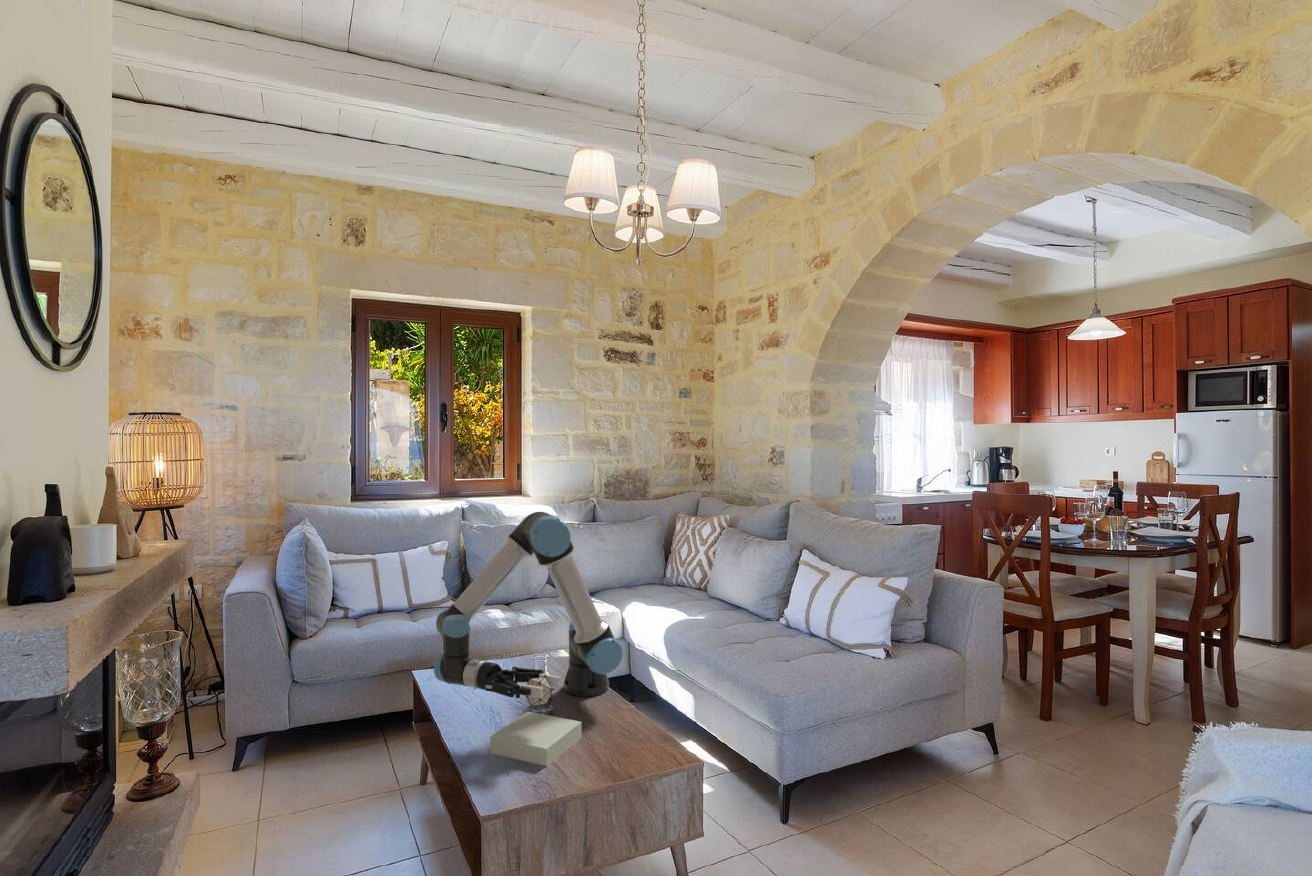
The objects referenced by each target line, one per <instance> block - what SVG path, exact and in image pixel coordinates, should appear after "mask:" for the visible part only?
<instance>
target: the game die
mask: <svg viewBox="0 0 1312 876" xmlns="http://www.w3.org/2000/svg"><path fill="white" fill-rule="evenodd" d="M546 675H547V674H546ZM546 675H545V676H544V677H541V678H533V679H530V678H529V677H528V676H527V677H528V679H529V681H528V682H526V683H527V684H526V685H531V686H536V687H542V688H543V698H542V699H540V698H535V697H530V696H525V698H526V700H527V701H528V703H529V706H528V707H529V708H528V709H529V710H530V709H532V707H533V706H540V705H541V706H542V705H545V706H547V707H549V703H548V701H549V699H550V696H551V693H552V691H555V687H554V688H552V686H550V685H549V683H548V681H547V680H546V678H545V677H546Z"/></svg>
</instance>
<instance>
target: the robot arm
mask: <svg viewBox="0 0 1312 876" xmlns="http://www.w3.org/2000/svg"><path fill="white" fill-rule="evenodd" d="M571 539H572V537H571V530H570V529H569V526H568V525H567V524H566V522H565V521H564V520H562V519H561V518H559V517H558V516H556V515H552V514H550V513H548V512H544V511H535V512H532V513H530V514H528V515H527V516H526V517H525V518H524V519H522V521H520V523H519V524H518V525H517V526H515V528H514V529H513V531H512V532H511V533H510V534H509V535H508V536H507V542H506V544H504V546H503V547H502V548H501V549H500V550H499V551H498V553H497V554H496V555H495V556H494V557H493V558H492V559H491V561H489V562H488V564H486V566H485V567H484V568H483V569H482V571H481V572H479V574H478V575H477V576H476V577H475V578H474V579H473V581H471V582H470V583H469V585H468V586H467V587H466V588H465V590H463V592H462V593H461V594H460V595H459V596H458V597H457V599H456V600H454V602H453V603H452V604H451V605H450V606H449V607H448V608H447V609H444V610H442V611H441V612H440V613H439V614H438V615H437V616H436V620H435V624H436V625H435V626H436V629H437V632H438V634H439V635H440V637H441V640H442V655H441V656H439V657H437V660H436V661H435V666H434V668H433V673H434V676H435V678H436V680H437V681H440V682H443V683H447V684H448V685H450V684H451V685H459V686H464V687H470V688H473V690H476V689H480V690H483V691H486V692H492V693H496V694H498V695H502V696H505V697H508V698H514V697H515V698H516V699H520V697H521V696H525V697H526V696H530V697H535V698H540V699H542V698H543V688H542V687H536V686H531V685H527V684H526V683H528V681H529V679H528V677H529V678H530V679H533V678H541V677H544V676H545V675H546V677H545V678H546V680H547V681H548V683H549V685H550V687H554V688H560V687H561V676H557V675H551V674H545V673H544V670H542V669H535V668H534V669H533V668H525V667H524V668H523V667H517V666H512V668H511V670H509V669H502V667H501V665H500V664H499V663H497V662H490V661H485V660H480V659H479V660H478V659H472V658H470V638H471V637H470V634H471V633H470V631H471V626H470V621H471V620H472V619H473V618H474V617H475V615H476V614H477V613H478V612H479V611H480V610H481V609H482V607H483V606H484V605H485V604H486V603H487V602H488V601H489V599H490V598H491V597H492V596H493V595H495V593H496V592H497V590H499V588H501V586H502V585H503V584H504V582H505V581H506V580H507V579H508V578H510V577H509V576H511V575H512V574H513V572H514V571H515V570H516V569H517V568H518V567H519V565H520V564H521V563H522V562H523V561H524V560H525V559H527V558H530V557H532V555H533V554H534V555H535V557H536V560H537V562H538V564H539V565H540V566H542V567H545V568H546V570H547V572H548V574H549V576H550V578H551V579H550V580H552V583H553V585H554V588H555V590H556V592H557V593H558V595H559V598H560V600H561V602H562V604H563V607H564V609H565V611H566V613H567V615H568V618H569V619H570V623H569V624H568V631H567V632H568V668H567V670H566V674H565V677H564V681H563V690H564V692H565V693H566V694H568V695H571V696H576V697H595V696H597V695H601V694H604V693H605V692H606V693H607V691H608V690H609V688H610V681H609V677H608V674H610V673H613V671H615V670H617V668H618V667H619V666H620V665H621V662H622V660H623V657H624V651H623V650H624V649H623V647H622V644H621V643H620V642H619V640H617V639H615V636H614V634H613V632H612V630H611V628H610V626H609V623H608V622H607V621H605V620H603V619H601V617H600V615H599V613H598V611H597V608H596V605H594V601H593V599H592V598H591V595H590V592H589V590H588V588H587V585H586V584H585V582H584V579H583V577H582V575H581V572H580V570H579V568H578V566H577V564H576V561H575V559H574V557H573V553H574V551H575V548H574V545H573V543H572V541H571ZM527 676H528V677H527ZM518 683H521V685H520V684H518ZM524 683H525V684H524ZM607 687H609V688H607Z"/></svg>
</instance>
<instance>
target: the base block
mask: <svg viewBox="0 0 1312 876" xmlns="http://www.w3.org/2000/svg"><path fill="white" fill-rule="evenodd" d="M582 725H583V724H582V721H580V720H579V721H578V720H575V719H570V718H569V719H568V718H565V717H564V718H563V717H558V716H555V715H554V716H553V715H547V714H544V713H537V712H532V711H527V712H525V713H524V714H522V715H521V716H519V717H518V718H515V719H514V720H513V721H512V722H510V723H509V724H507V725H506V726H504V727H503V728H501V729H500V730H498V731H497V732H495V733H494V734H492V735H491V736H490V743H489V744H490V745H489V747H490V751H489V752H490V755H491V754H492V755H496V756H501V757H505V758H510V759H513V760H517V761H518V760H519V761H523V762H525V763H526V762H527V763H532V764H535V765H540V766H544V767H548V766H549V765H551V764H552V763H553V762H554V761H555V760H557V759H558V758H559V757H560V756H561V755H563V754H564V753H566V751H568V750H569V749H570V748H571V747H572V746H573V745H575V744H576V743H577V742H578V741H580V740H581V739H582V734H583V733H582V728H583V727H582ZM580 738H581V739H580ZM579 739H580V740H579ZM550 763H551V764H550Z"/></svg>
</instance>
